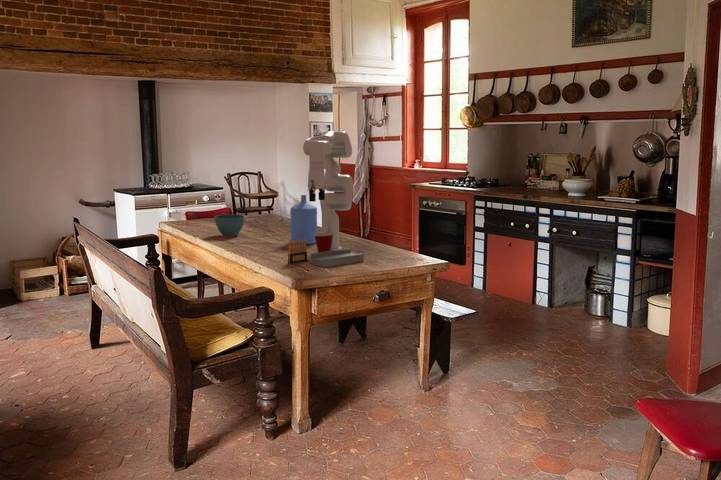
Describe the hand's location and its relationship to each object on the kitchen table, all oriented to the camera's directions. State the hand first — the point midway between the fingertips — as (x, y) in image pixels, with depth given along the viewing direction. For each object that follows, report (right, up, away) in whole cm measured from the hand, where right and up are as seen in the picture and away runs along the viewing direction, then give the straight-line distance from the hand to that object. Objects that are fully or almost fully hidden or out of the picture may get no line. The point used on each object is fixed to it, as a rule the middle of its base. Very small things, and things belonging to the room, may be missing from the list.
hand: (317, 200), depth 327 cm
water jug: (-12, -21, +62) cm, 66 cm away
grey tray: (+10, -31, +4) cm, 33 cm away
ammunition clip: (-10, -31, +4) cm, 33 cm away
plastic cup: (+2, -28, +22) cm, 36 cm away
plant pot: (-60, -17, +86) cm, 106 cm away
